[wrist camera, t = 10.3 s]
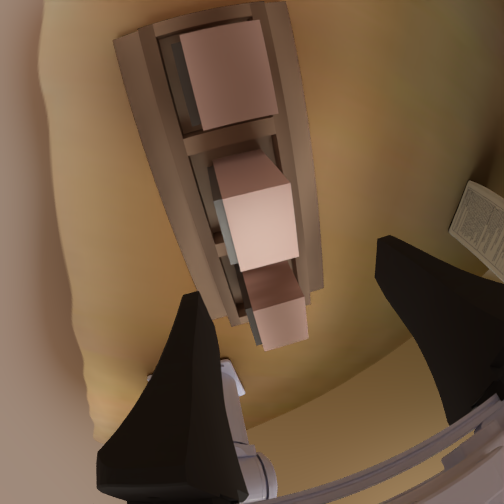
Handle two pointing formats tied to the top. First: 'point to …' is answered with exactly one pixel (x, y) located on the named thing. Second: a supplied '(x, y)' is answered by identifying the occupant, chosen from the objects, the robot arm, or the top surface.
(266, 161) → the rose block
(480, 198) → the skincare box
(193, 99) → the walnut rack
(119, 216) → the top surface
